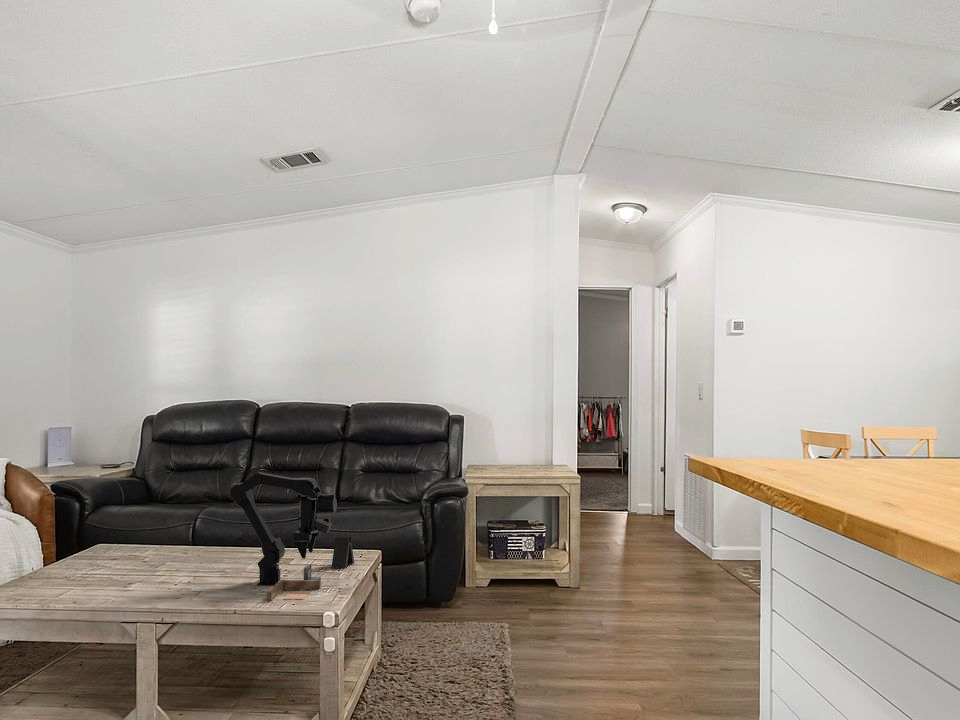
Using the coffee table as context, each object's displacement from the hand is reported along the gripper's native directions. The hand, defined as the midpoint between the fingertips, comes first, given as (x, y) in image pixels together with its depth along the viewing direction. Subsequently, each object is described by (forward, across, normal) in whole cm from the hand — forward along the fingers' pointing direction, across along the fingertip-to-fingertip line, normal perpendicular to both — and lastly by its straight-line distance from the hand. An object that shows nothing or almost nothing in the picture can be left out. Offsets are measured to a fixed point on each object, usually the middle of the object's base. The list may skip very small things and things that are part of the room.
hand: (307, 555), depth 251 cm
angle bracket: (+10, 0, -2) cm, 10 cm away
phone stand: (+10, +24, -8) cm, 27 cm away
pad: (+10, -16, -1) cm, 19 cm away
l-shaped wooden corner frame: (+10, -15, 0) cm, 18 cm away
